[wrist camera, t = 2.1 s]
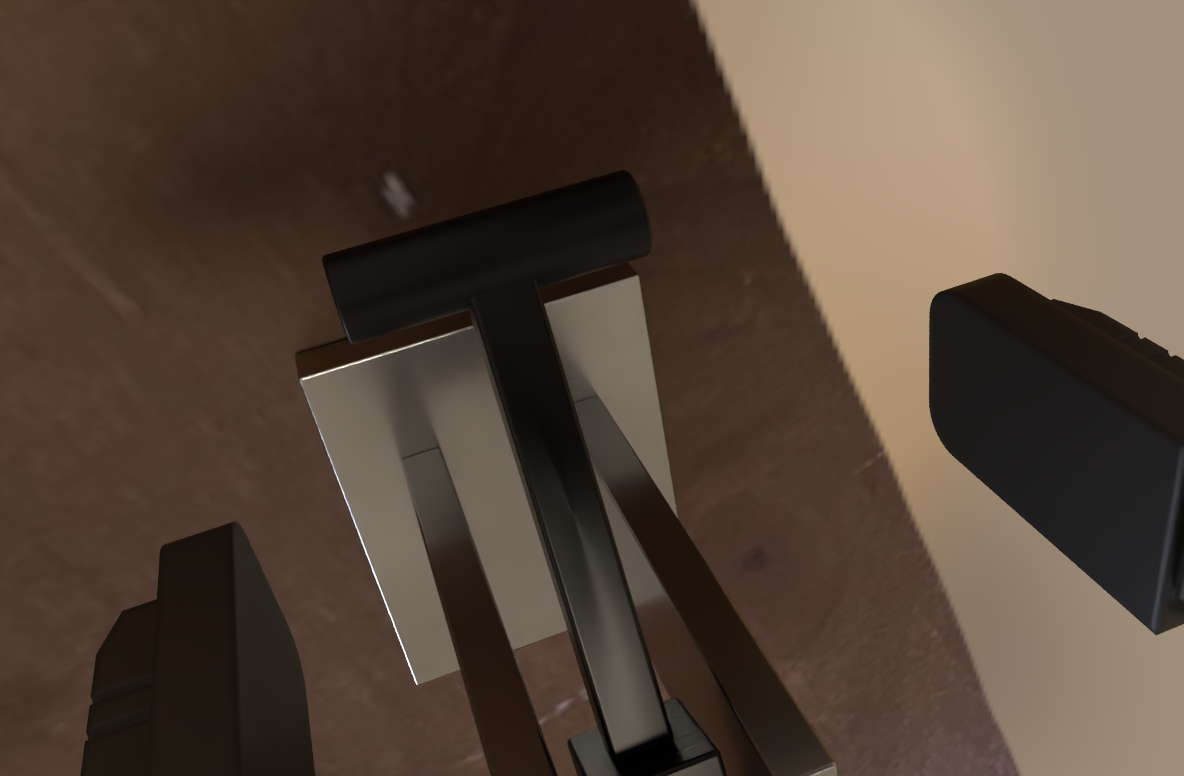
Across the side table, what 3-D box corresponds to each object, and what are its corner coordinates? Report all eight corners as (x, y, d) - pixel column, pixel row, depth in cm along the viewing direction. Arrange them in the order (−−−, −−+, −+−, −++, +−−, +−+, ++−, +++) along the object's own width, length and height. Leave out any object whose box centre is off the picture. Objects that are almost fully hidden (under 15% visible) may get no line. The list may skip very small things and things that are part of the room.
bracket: (294, 354, 24) (365, 812, 13) (622, 255, 25) (927, 597, 14) (409, 655, 29) (526, 1152, 18) (673, 560, 30) (922, 972, 20)
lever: (324, 259, 17) (316, 252, 15) (607, 177, 18) (642, 159, 16) (536, 904, 19) (559, 990, 16) (785, 801, 20) (841, 869, 17)
